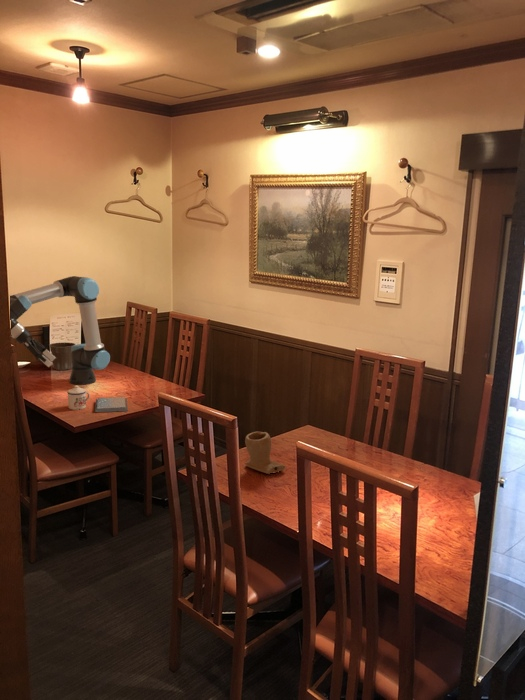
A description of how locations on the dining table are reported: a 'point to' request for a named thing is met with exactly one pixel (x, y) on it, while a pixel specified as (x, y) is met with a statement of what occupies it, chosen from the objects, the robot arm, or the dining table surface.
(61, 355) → the plant pot
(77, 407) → the teacup with lid
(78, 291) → the robot arm
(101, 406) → the press bed
